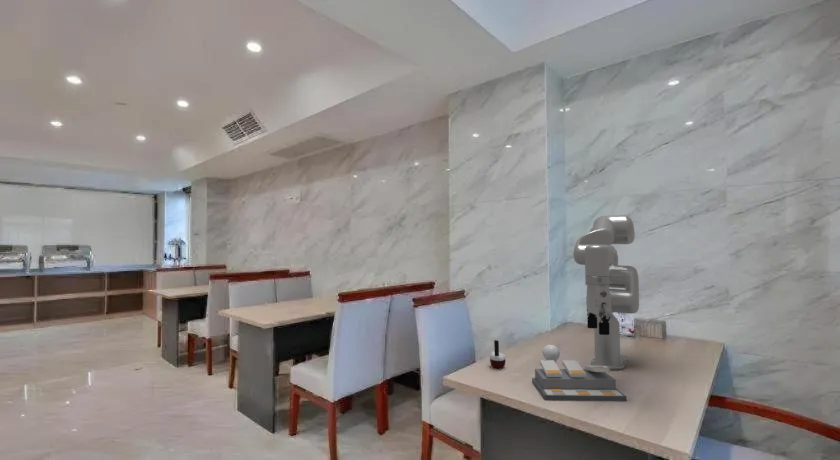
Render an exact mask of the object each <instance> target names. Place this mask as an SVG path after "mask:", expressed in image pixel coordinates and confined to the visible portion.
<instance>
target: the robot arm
mask: <svg viewBox="0 0 840 460" xmlns="http://www.w3.org/2000/svg"><path fill="white" fill-rule="evenodd" d="M635 234H636V232H635V225H634V221H633V220H632V218H631V217H630V216H629V215H625V214H624V215H623V214H618V215H617V214H616V215H602V216H601V215H600V216H599V217H597V218H596V219H595V220H594V221H593V226H592V228H590V231H589V232H588V233H585V234H583V235H581V236H580V237H579V238H578V239H577V240H576V242H575V245H574V248H573V259H574V262H575V263H576V264H577V265H581V266H584V272H585V273H584V275H585V278H584V280H585V282H584V284H585V286H586V311H587V313H586V317H587V321H586V322H587V323H586V324H587V328H588V329H594V330H593V331H594V333H593V334H594V337H593V338H594V341H593V342H594V358H591V360H590V365H595V366H602V367H608V368H609V369H610V371H613V370H615V371H618V370H619V371H620V370H623V369H625V363H626V362H627V363H633V362H634V361H633V360H634V359H633V357H632V356H626V355H622V354H621V335H620V334H621V331H620V330H621V329H620V326H621V325H620V321H619V320H618V318H617V317H616V316H615V315H614V314H613V313H615V314H616V313H618V314H619V313H620V314H629V315H632V314H637V313H638V311H639V308H640V287H639V285H640V284H639V283H640V282H639V281H640V279H639V273H638V271H637V269H636V268H635V267H634V266H632V265H622V264H621V265H620V264H619V255H618V251H617V249H616V248H615V247H614V246H613V245H630V244H632V243H633V242H634V241H635Z"/></svg>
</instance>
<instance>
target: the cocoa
mask: <svg viewBox="0 0 840 460" xmlns="http://www.w3.org/2000/svg"><path fill="white" fill-rule="evenodd" d="M493 341H494V344H493V345H494V346H493V348H494V350H492V351H491V352H490V354H489V361H490V362H489V363H490V365H491V367H492V368H493V369H494V370H495V369H497V370H500V369H503V368H505V365H506V359H507V356H506V355H505V354H504V353H502V352H500V350H499V349H500V341H499V340H496V339H495V340H493Z"/></svg>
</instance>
